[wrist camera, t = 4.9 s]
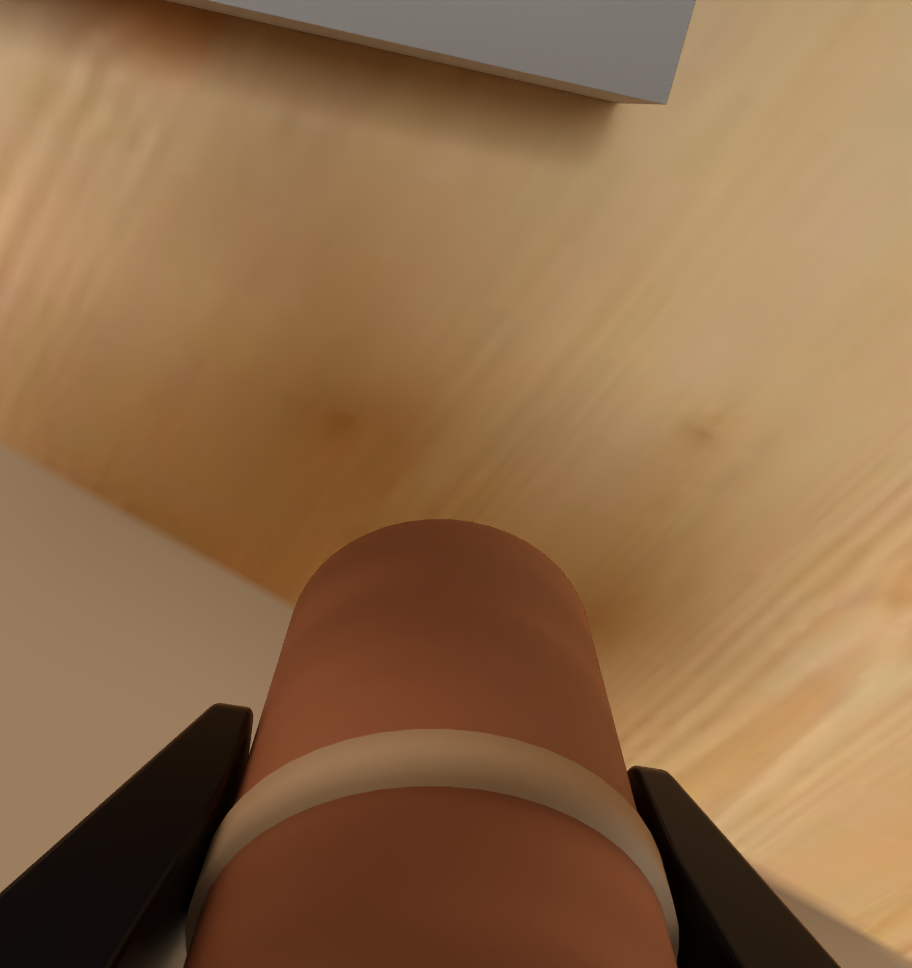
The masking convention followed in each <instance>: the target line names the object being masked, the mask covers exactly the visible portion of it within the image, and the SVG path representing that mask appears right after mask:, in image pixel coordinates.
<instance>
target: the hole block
mask: <svg viewBox="0 0 912 968" xmlns="http://www.w3.org/2000/svg"><path fill="white" fill-rule="evenodd" d="M165 1H169V2H174V3H178V4H182V5H187V6H191V7H196V8H200V9H205V10H209V11H213V12H218V13H222V14H227V15H231V16H235V17H240V18H244V19H249V20H253V21H258V22H262V23H266V24H271V25H275V26H280V27H284V28H288V29H293V30H297V31H302V32H306V33H311V34H315V35H319V36H324V37H328V38H333V39H337V40H341V41H346V42H350V43H355V44H359V45H364V46H368V47H372V48H377V49H381V50H386V51H390V52H394V53H399V54H403V55H408V56H412V57H416V58H421V59H425V60H430V61H434V62H439V63H443V64H447V65H452V66H456V67H461V68H465V69H469V70H474V71H478V72H483V73H487V74H492V75H496V76H500V77H505V78H509V79H514V80H518V81H522V82H527V83H531V84H536V85H540V86H545V87H549V88H553V89H558V90H562V91H567V92H571V93H575V94H580V95H584V96H589V97H593V98H598V99H602V100H606V101H611V102H615V103H632V104H664V105H666V104H667V100H668V97H669V93H670V90H671V86H672V82H673V79H674V75H675V72H676V68H677V65H678V61H679V58H680V54H681V51H682V47H683V44H684V40H685V37H686V33H687V30H688V26H689V23H690V19H691V16H692V12H693V9H694V5H695V1H696V0H165Z"/></svg>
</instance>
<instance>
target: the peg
mask: <svg viewBox="0 0 912 968" xmlns="http://www.w3.org/2000/svg"><path fill="white" fill-rule="evenodd" d="M185 944H186V953H187V957H186V960H185V963H184V966H183V968H678V967H677V963H676V961H677V956H678V950H679V926H678V921H677V916H676V912H675V907H674V903H673V900H672V896H671V892H670V889H669V885H668V881H667V878H666V874H665V871H664V867H663V863H662V860H661V856H660V853H659V850H658V848H657V846H656V843H655V841H654V839H653V837H652V834H651V832H650V831H649V829H648V828H647V826H646V825H645V823H644V822H643V820H642V819H641V817H640V815H639V814H638V813H637V809H636V805H635V802H634V798H633V794H632V790H631V786H630V782H629V778H628V775H627V771H626V767H625V763H624V759H623V755H622V751H621V748H620V744H619V740H618V736H617V732H616V728H615V725H614V721H613V717H612V713H611V709H610V705H609V701H608V698H607V694H606V690H605V686H604V682H603V678H602V674H601V671H600V667H599V663H598V659H597V655H596V651H595V647H594V644H593V640H592V636H591V632H590V628H589V624H588V620H587V617H586V613H585V610H584V607H583V605H582V603H581V600H580V598H579V595H578V594H577V592H576V590H575V589H574V587H573V585H572V584H571V582H570V581H569V579H568V578H567V577H566V576H565V575H564V573H563V572H562V571H561V570H560V569H559V567H558V566H557V565H556V564H554V563H553V562H552V561H551V560H550V559H549V558H548V557H547V556H546V555H545V554H543V553H542V552H540V551H539V550H537V549H536V548H535V547H533V546H532V545H530V544H529V543H527V542H525V541H523V540H521V539H519V538H517V537H515V536H513V535H511V534H509V533H506V532H504V531H501V530H498V529H496V528H493V527H490V526H485V525H481V524H477V523H473V522H466V521H458V520H420V521H411V522H405V523H401V524H396V525H392V526H388V527H385V528H382V529H379V530H377V531H374V532H371V533H369V534H366V535H364V536H362V537H360V538H359V539H357V540H355V541H353V542H351V543H349V544H348V545H346V546H345V547H343V548H342V549H340V550H339V551H338V552H336V553H335V554H333V555H332V556H331V557H330V558H329V559H328V560H327V561H326V562H325V563H324V564H323V565H321V566H320V567H319V569H318V570H317V571H316V572H315V574H314V575H313V576H312V577H311V579H310V580H309V581H308V583H307V584H306V586H305V588H304V590H303V591H302V593H301V595H300V596H299V599H298V602H297V604H296V607H295V609H294V612H293V615H292V618H291V621H290V625H289V628H288V631H287V634H286V637H285V641H284V644H283V647H282V651H281V654H280V657H279V660H278V663H277V667H276V670H275V673H274V676H273V680H272V683H271V686H270V689H269V692H268V696H267V699H266V702H265V705H264V709H263V712H262V715H261V718H260V721H259V725H258V728H257V731H256V734H255V737H254V741H253V744H252V747H251V750H250V754H249V757H248V760H247V763H246V766H245V770H244V773H243V776H242V779H241V783H240V786H239V789H238V792H237V795H236V799H235V802H234V805H233V808H232V809H231V810H230V811H229V812H228V813H227V815H226V816H225V818H224V819H223V821H222V822H221V824H220V826H219V827H218V829H217V830H216V832H215V834H214V836H213V839H212V841H211V844H210V846H209V849H208V851H207V854H206V857H205V860H204V863H203V866H202V869H201V872H200V875H199V878H198V881H197V884H196V887H195V890H194V893H193V896H192V899H191V902H190V905H189V910H188V916H187V921H186V926H185Z"/></svg>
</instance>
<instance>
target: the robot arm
mask: <svg viewBox="0 0 912 968" xmlns="http://www.w3.org/2000/svg"><path fill="white" fill-rule="evenodd" d="M252 723H253V712H252V710H251V709H250V708H248V707H243V706H236V705H229V704H223V703H217V704H214V705H213V706H211V707H210V708H209V709H207V710H206V711H205V712H204V713H203V714H202V715H201V716H200V717H199V718H197V719H196V720H195V721H194V722H193V723H192V724H190V725H189V726H188V727H187V728H186V729H185V730H184V731H183V732H181V733H180V734H179V735H178V736H177V737H176V738H175V739H174V740H172V741H171V742H170V743H169V744H168V745H167V746H166V747H165V748H164V749H162V750H161V751H160V752H159V753H158V754H157V755H156V756H154V757H153V758H152V759H151V760H150V761H149V762H148V763H146V764H145V765H144V766H143V767H142V768H141V769H140V770H139V771H137V772H136V773H135V774H134V775H133V776H132V777H131V778H130V779H129V780H127V781H126V782H125V783H124V784H123V785H122V786H121V787H119V788H118V789H117V790H116V791H115V792H114V793H113V794H111V795H110V796H109V797H108V798H107V799H106V800H105V801H104V802H102V803H101V804H100V805H99V806H98V807H97V808H96V809H95V810H94V811H92V812H91V813H90V814H89V815H88V816H87V817H86V818H84V819H83V820H82V821H81V822H80V823H79V824H78V825H77V826H75V827H74V828H73V829H72V830H71V831H70V832H69V833H68V834H66V835H65V836H64V837H63V838H62V839H61V840H60V841H59V842H57V843H56V844H55V845H54V846H53V847H52V848H51V849H50V850H49V851H47V852H46V853H45V854H44V855H43V856H42V857H40V858H39V859H38V860H37V861H36V862H35V863H34V864H32V865H31V866H30V867H29V868H28V869H27V870H26V871H25V872H23V873H22V874H21V875H20V876H19V877H18V878H17V879H16V880H14V881H13V882H12V883H11V884H10V885H9V886H8V887H6V888H5V889H4V890H3V891H2V892H1V893H0V968H183V966H184V963H185V960H186V957H187V953H186V944H185V926H186V921H187V916H188V910H189V905H190V902H191V899H192V896H193V893H194V890H195V887H196V884H197V881H198V878H199V875H200V872H201V869H202V866H203V863H204V860H205V857H206V854H207V851H208V849H209V846H210V844H211V841H212V839H213V836H214V834H215V832H216V830H217V829H218V827H219V826H220V824H221V822H222V821H223V819H224V818H225V816H226V815H227V813H228V812H229V811H230V810H231V809H232V808H233V805H234V802H235V799H236V795H237V792H238V789H239V786H240V783H241V779H242V776H243V773H244V770H245V766H246V763H247V760H248V757H249V750H250V741H251V733H252ZM627 775H628V778H629V782H630V786H631V790H632V794H633V798H634V802H635V805H636V809H637V813H638V814H639V815H640V817H641V819H642V820H643V822H644V823H645V825H646V826H647V828H648V829H649V831H650V832H651V834H652V837H653V839H654V841H655V843H656V846H657V848H658V850H659V853H660V856H661V860H662V863H663V867H664V871H665V874H666V878H667V881H668V885H669V889H670V892H671V896H672V900H673V903H674V907H675V912H676V916H677V921H678V926H679V950H678V956H677V961H676V963H677V967H678V968H841V967H840V966H839V965H838V964H837V962H836V961H835V960H834V959H833V958H832V957H831V956H830V955H829V953H828V952H827V951H826V950H825V949H824V948H823V947H822V945H821V944H820V943H819V942H818V941H817V940H816V939H815V937H814V936H813V935H812V934H811V933H810V932H809V931H808V930H807V928H806V927H805V926H804V925H803V924H802V923H801V922H800V920H799V919H798V918H797V917H796V916H795V915H794V914H793V913H792V911H791V910H790V909H789V908H788V907H787V906H786V905H785V903H784V902H783V901H782V900H781V899H780V898H779V897H778V896H777V895H776V893H775V892H774V891H773V890H772V889H771V888H770V886H769V885H768V884H767V883H766V882H765V881H764V880H763V879H762V877H761V876H760V875H759V874H758V873H757V872H756V871H755V869H754V868H753V867H752V866H751V865H750V864H749V863H748V862H747V860H746V859H745V858H744V857H743V856H742V855H741V854H740V852H739V851H738V850H737V849H736V848H735V847H734V846H733V845H732V843H731V842H730V841H729V840H728V839H727V838H726V837H725V835H724V834H723V833H722V832H721V831H720V830H719V829H718V828H717V826H716V825H715V824H714V823H713V822H712V821H711V820H710V818H709V817H708V816H707V815H706V814H705V813H704V812H703V811H702V809H701V808H700V807H699V806H698V805H697V804H696V803H695V801H694V800H693V799H692V798H691V797H690V796H689V795H688V794H687V792H686V791H685V790H684V789H683V788H682V787H681V786H680V784H679V783H678V782H677V781H676V780H675V779H674V778H673V777H672V776H671V775H670V774H669V773H668V772H666V771H664V770H661V769H655V768H648V767H642V766H633V767H631V768H629V770H628V771H627Z"/></svg>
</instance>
